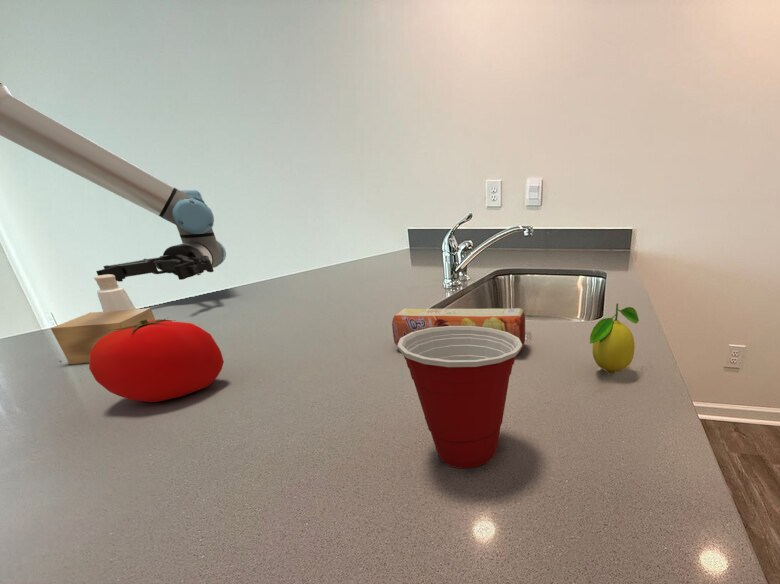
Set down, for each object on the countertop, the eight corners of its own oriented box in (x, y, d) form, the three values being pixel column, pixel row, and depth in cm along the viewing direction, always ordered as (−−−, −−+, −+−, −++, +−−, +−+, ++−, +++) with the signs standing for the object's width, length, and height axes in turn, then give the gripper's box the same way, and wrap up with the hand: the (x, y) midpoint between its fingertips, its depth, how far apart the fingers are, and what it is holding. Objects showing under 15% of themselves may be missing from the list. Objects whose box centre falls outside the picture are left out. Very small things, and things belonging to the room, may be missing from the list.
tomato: (235, 393, 54) (208, 317, 49) (106, 425, 47) (61, 341, 42) (226, 367, 62) (202, 300, 57) (116, 391, 55) (79, 317, 50)
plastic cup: (546, 451, 40) (548, 336, 35) (455, 503, 34) (441, 372, 29) (479, 412, 48) (473, 312, 42) (395, 449, 41) (375, 336, 36)
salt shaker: (103, 338, 76) (74, 278, 71) (131, 329, 81) (106, 272, 76) (128, 338, 75) (101, 278, 70) (155, 329, 80) (131, 272, 75)
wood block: (69, 364, 64) (50, 328, 61) (105, 345, 72) (89, 312, 69) (136, 358, 66) (119, 322, 63) (164, 340, 74) (150, 308, 71)
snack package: (392, 352, 66) (385, 311, 63) (409, 339, 72) (403, 301, 69) (521, 359, 62) (521, 316, 59) (528, 344, 68) (527, 304, 65)
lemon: (633, 365, 59) (641, 297, 55) (638, 383, 54) (648, 309, 49) (586, 364, 60) (591, 296, 55) (587, 381, 55) (592, 308, 50)
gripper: (247, 271, 106) (215, 288, 87) (136, 278, 100) (76, 298, 82) (238, 241, 102) (203, 252, 84) (122, 246, 97) (57, 260, 79)
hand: (140, 275), depth 83 cm, fingers open, 13 cm apart
